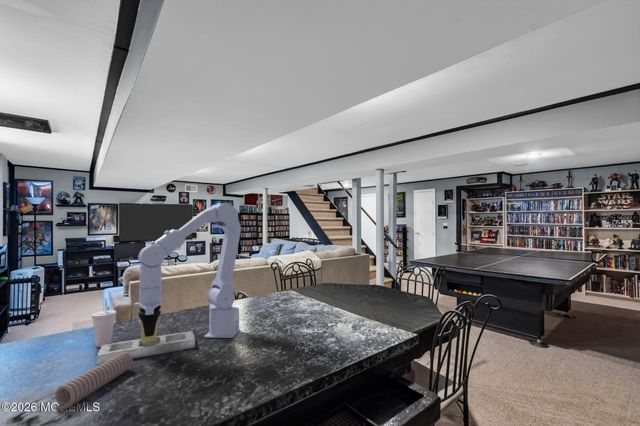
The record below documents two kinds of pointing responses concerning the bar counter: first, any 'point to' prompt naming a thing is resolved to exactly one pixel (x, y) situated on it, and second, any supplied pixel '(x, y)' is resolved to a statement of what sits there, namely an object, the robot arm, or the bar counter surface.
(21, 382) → the bar counter surface
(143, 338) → the drilled wooden block
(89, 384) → the coil
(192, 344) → the rail
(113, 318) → the smoothie
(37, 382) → the bar counter surface
